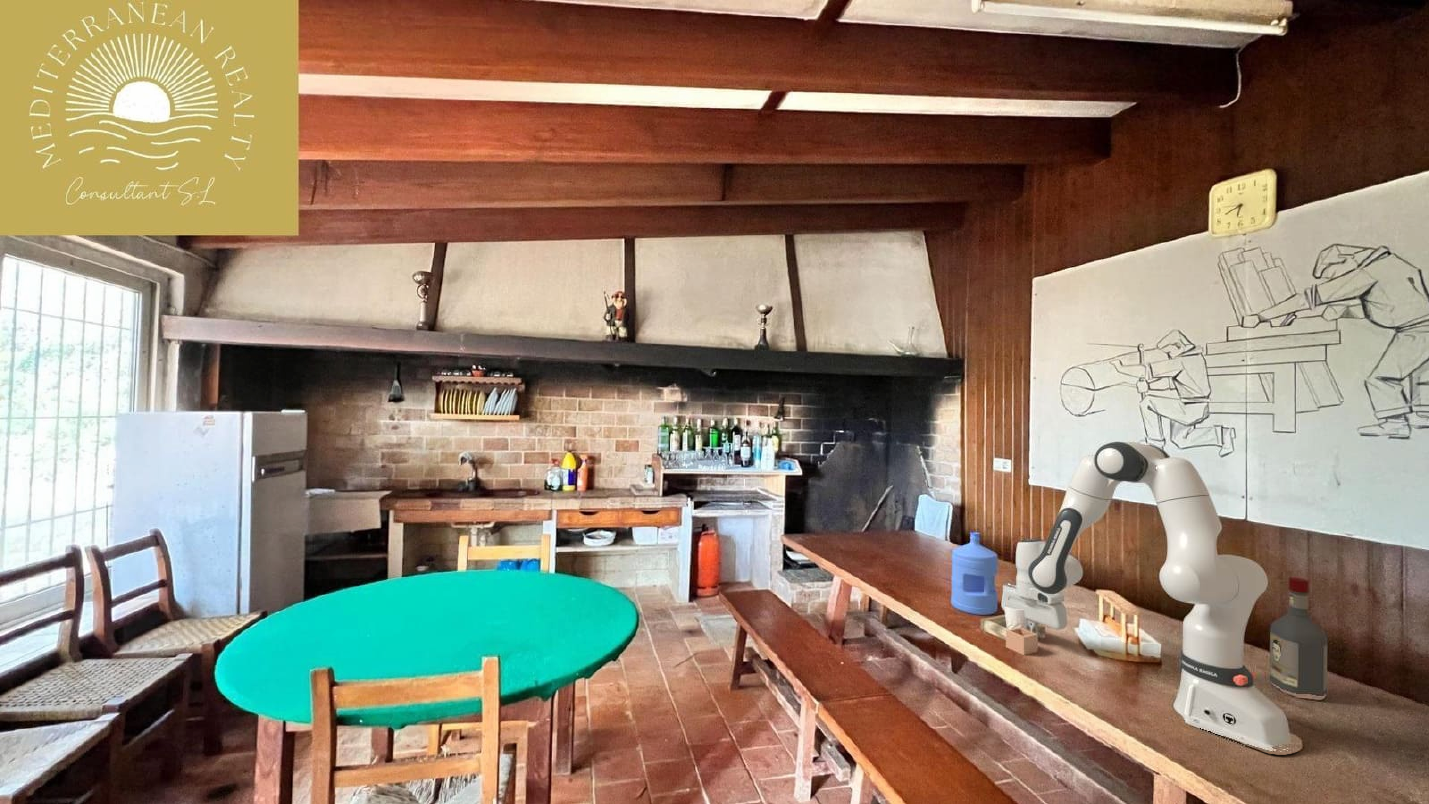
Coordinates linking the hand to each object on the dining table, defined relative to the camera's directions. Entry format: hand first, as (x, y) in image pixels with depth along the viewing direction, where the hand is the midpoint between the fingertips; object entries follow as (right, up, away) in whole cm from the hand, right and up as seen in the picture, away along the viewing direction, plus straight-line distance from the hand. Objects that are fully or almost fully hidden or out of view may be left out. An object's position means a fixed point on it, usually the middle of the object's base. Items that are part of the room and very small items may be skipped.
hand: (1032, 634), depth 177 cm
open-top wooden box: (-7, -3, -6) cm, 10 cm away
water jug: (-4, -4, +31) cm, 32 cm away
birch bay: (-3, -3, +6) cm, 7 cm away
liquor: (+55, -4, -28) cm, 62 cm away
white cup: (-2, -3, +4) cm, 5 cm away
